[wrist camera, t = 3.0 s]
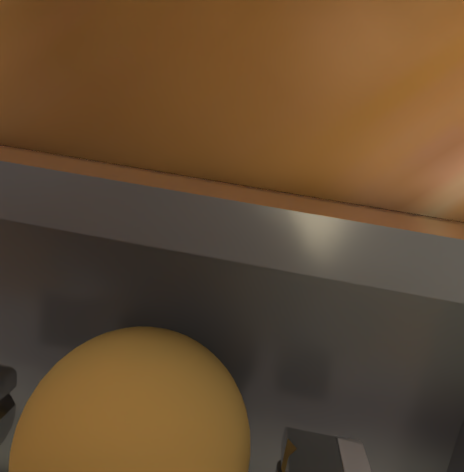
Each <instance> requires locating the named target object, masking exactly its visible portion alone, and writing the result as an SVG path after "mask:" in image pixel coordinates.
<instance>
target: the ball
mask: <svg viewBox="0 0 464 472" xmlns="http://www.w3.org/2000/svg"><path fill="white" fill-rule="evenodd" d="M249 462H250V428H249V422H248V417H247V411H246V407H245V404H244V401H243V398H242V395H241V393H240V391H239V389H238V387H237V385H236V383H235V381H234V379H233V377H232V376H231V374H230V373H229V371H228V370H227V368H226V367H225V366H224V365H223V364H222V362H221V361H220V360H219V359H218V358H217V357H216V356H215V355H214V354H213V353H212V352H211V351H210V350H208V349H207V348H206V347H205V346H203V345H202V344H200V343H199V342H197V341H196V340H194V339H192V338H190V337H188V336H186V335H184V334H181V333H178V332H176V331H172V330H168V329H164V328H157V327H142V326H137V327H128V328H122V329H118V330H114V331H110V332H106V333H104V334H101V335H99V336H97V337H94V338H92V339H90V340H88V341H86V342H85V343H83V344H81V345H79V346H78V347H76V348H75V349H73V350H72V351H71V352H70V353H68V354H67V355H66V356H65V357H63V358H62V359H61V360H60V361H58V362H57V363H56V364H55V365H54V366H53V368H52V369H51V370H50V371H49V372H48V373H47V374H46V375H45V376H44V378H43V379H42V380H41V381H40V382H39V384H38V385H37V387H36V388H35V390H34V392H33V393H32V395H31V396H30V398H29V400H28V401H27V403H26V405H25V407H24V409H23V412H22V414H21V416H20V419H19V421H18V424H17V426H16V429H15V433H14V437H13V441H12V445H11V450H10V457H9V472H248V469H249Z"/></svg>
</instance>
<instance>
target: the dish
mask: <svg viewBox="0 0 464 472" xmlns="http://www.w3.org/2000/svg"><path fill="white" fill-rule="evenodd" d="M137 326H142V327H157V328H164V329H168V330H172V331H176V332H178V333H181V334H184V335H186V336H188V337H190V338H192V339H194V340H196V341H197V342H199V343H200V344H202V345H203V346H205V347H206V348H207V349H208V350H210V351H211V352H212V353H213V354H214V355H215V356H216V357H217V358H218V359H219V360H220V361H221V362H222V364H223V365H224V366H225V367H226V368H227V370H228V371H229V373H230V374H231V376H232V377H233V379H234V381H235V383H236V385H237V387H238V389H239V391H240V393H241V395H242V398H243V401H244V404H245V407H246V411H247V417H248V422H249V428H250V462H249V469H248V472H275V470H276V465H277V462H278V461H279V460H281V442H282V437H283V433H284V430H285V427H291V428H295V429H300V430H305V431H310V432H315V433H320V434H325V435H330V436H339V437H344V438H350V439H355V440H360V441H361V442H362V443H363V446H364V449H365V453H366V456H367V459H368V462H369V466H370V469H371V472H464V222H458V221H452V220H446V219H440V218H434V217H428V216H422V215H416V214H410V213H404V212H398V211H392V210H386V209H380V208H374V207H368V206H363V205H357V204H351V203H345V202H339V201H333V200H327V199H321V198H315V197H309V196H303V195H297V194H291V193H285V192H279V191H273V190H267V189H261V188H255V187H249V186H243V185H237V184H231V183H225V182H219V181H213V180H207V179H201V178H195V177H189V176H183V175H177V174H171V173H165V172H159V171H153V170H147V169H141V168H135V167H129V166H123V165H117V164H111V163H106V162H100V161H94V160H88V159H82V158H76V157H70V156H64V155H58V154H52V153H46V152H40V151H34V150H28V149H22V148H16V147H10V146H4V145H0V364H1V365H5V366H9V367H13V369H14V370H15V371H16V372H17V386H16V387H15V388H14V389H13V390H12V392H11V393H10V395H11V397H12V399H13V400H14V402H15V404H16V411H15V418H14V421H13V425H12V428H11V429H10V431H9V433H8V435H7V437H6V438H5V440H4V441H3V443H2V444H1V445H0V472H9V457H10V450H11V445H12V441H13V437H14V433H15V429H16V426H17V424H18V421H19V419H20V416H21V414H22V412H23V409H24V407H25V405H26V403H27V401H28V400H29V398H30V396H31V395H32V393H33V392H34V390H35V388H36V387H37V385H38V384H39V382H40V381H41V380H42V379H43V378H44V376H45V375H46V374H47V373H48V372H49V371H50V370H51V369H52V368H53V366H54V365H55V364H56V363H57V362H58V361H60V360H61V359H62V358H63V357H65V356H66V355H67V354H68V353H70V352H71V351H72V350H73V349H75V348H76V347H78V346H79V345H81V344H83V343H85V342H86V341H88V340H90V339H92V338H94V337H97V336H99V335H101V334H104V333H106V332H110V331H114V330H118V329H122V328H128V327H137Z"/></svg>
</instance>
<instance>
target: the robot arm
mask: <svg viewBox="0 0 464 472" xmlns="http://www.w3.org/2000/svg"><path fill="white" fill-rule="evenodd" d="M16 386H17V372H16V371H15V370H14V369H13V367H9V366H5V365H1V364H0V445H1V444H2V443H3V441H4V440H5V438H6V437H7V435H8V433H9V431H10V429H11V428H12V425H13V421H14V418H15V411H16V404H15V402H14V400H13V399H12V397H11V395H10V393H11V392H12V390H13V389H14V388H15V387H16ZM275 472H371V469H370V466H369V462H368V459H367V456H366V453H365V449H364V446H363V443H362V442H361V441H360V440H355V439H350V438H344V437H339V436H330V435H325V434H320V433H315V432H310V431H305V430H300V429H295V428H291V427H285V430H284V433H283V437H282V442H281V460H279V461H278V462H277V465H276V470H275Z"/></svg>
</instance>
